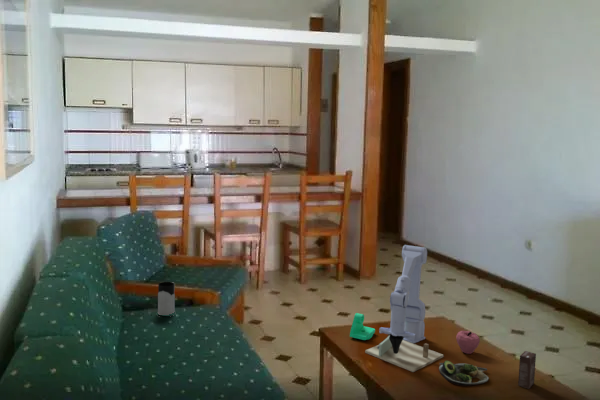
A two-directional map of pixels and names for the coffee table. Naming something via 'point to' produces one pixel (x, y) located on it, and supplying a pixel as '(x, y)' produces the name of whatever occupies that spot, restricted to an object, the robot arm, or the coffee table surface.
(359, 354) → the coffee table surface
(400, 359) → the door frame board
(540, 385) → the coffee table surface
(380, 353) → the door
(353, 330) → the camera mount
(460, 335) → the apple
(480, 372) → the salad plate
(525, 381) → the box
